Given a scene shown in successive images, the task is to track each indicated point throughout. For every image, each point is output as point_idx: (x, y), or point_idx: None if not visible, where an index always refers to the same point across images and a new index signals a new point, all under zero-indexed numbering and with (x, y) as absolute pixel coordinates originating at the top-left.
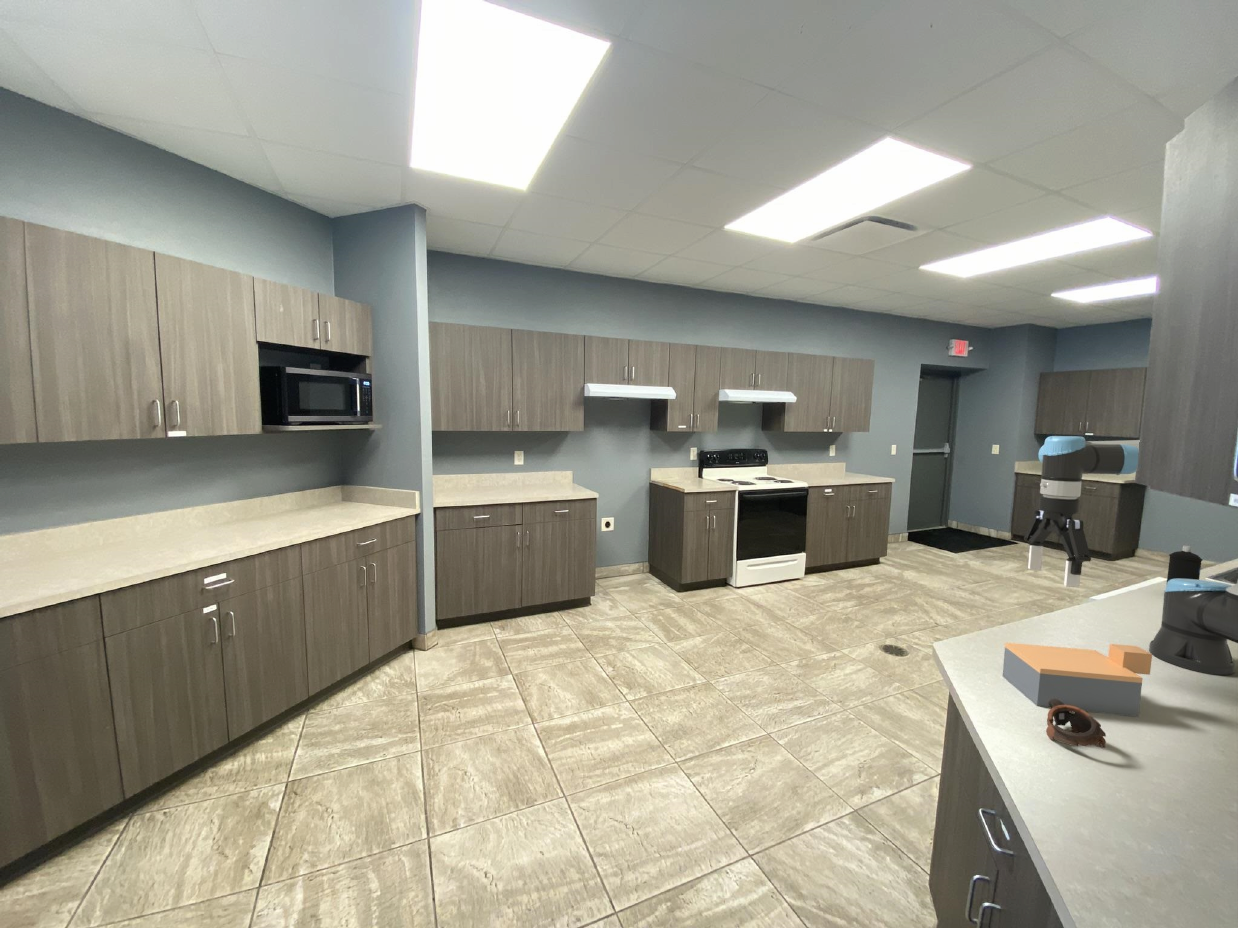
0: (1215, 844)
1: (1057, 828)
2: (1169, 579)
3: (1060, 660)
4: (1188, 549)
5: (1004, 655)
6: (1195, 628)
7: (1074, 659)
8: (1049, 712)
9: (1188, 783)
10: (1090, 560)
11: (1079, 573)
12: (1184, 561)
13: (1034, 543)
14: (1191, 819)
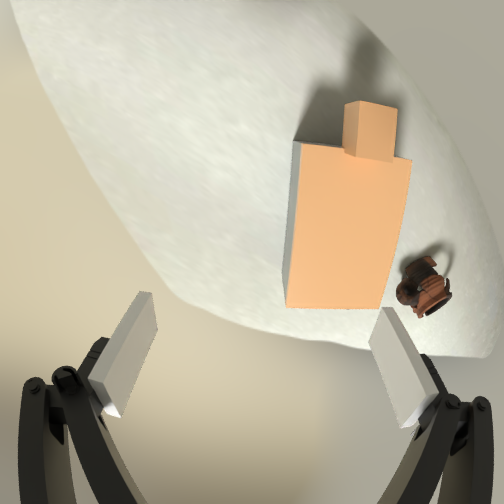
0: (499, 266)
1: (467, 346)
2: None
3: (355, 258)
4: None
5: (284, 292)
6: None
7: (351, 228)
8: (419, 317)
9: (471, 223)
10: (486, 399)
11: (427, 362)
12: None
13: (96, 412)
14: (489, 262)
